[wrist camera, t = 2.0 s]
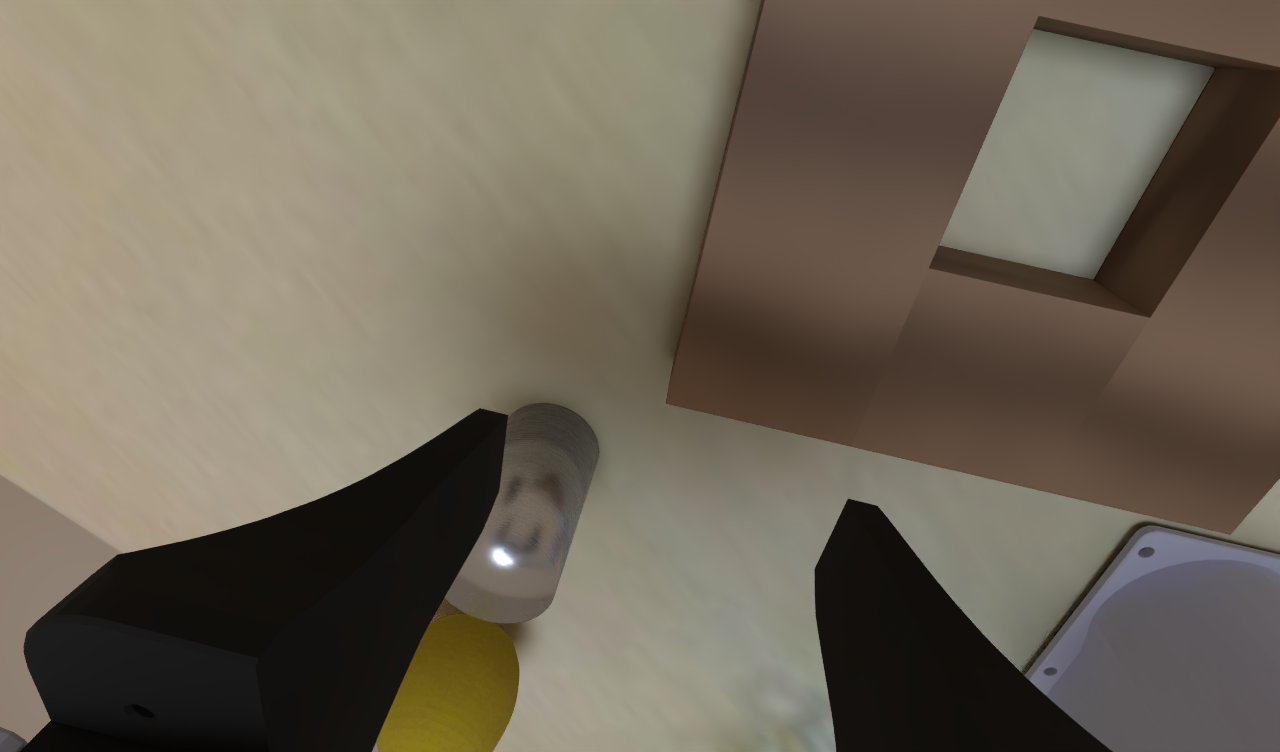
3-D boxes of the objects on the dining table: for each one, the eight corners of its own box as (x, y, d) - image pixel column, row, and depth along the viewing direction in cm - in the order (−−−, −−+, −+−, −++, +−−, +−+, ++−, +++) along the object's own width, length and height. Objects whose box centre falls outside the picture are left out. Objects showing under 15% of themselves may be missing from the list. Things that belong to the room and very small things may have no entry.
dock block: (1171, 476, 22) (1230, 534, 20) (673, 361, 23) (665, 403, 20) (1675, -180, 13) (1904, -234, 11) (846, -346, 14) (872, -436, 11)
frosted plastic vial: (591, 496, 26) (547, 636, 20) (498, 473, 26) (426, 606, 20) (606, 416, 24) (563, 544, 18) (505, 393, 24) (428, 512, 18)
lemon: (452, 658, 32) (374, 829, 25) (412, 579, 30) (314, 744, 23) (552, 654, 31) (500, 832, 24) (519, 572, 29) (451, 743, 22)
